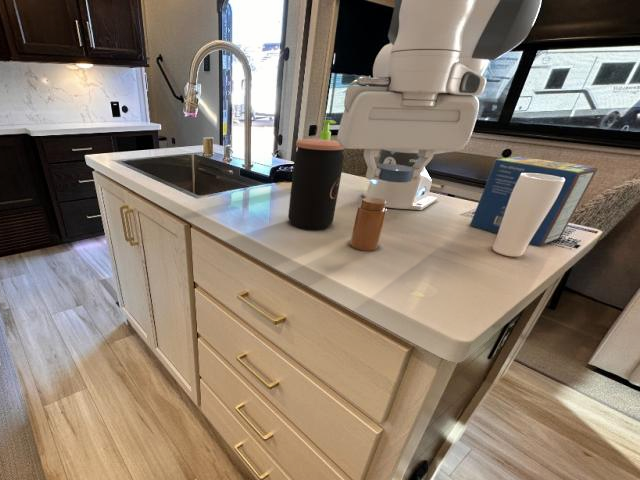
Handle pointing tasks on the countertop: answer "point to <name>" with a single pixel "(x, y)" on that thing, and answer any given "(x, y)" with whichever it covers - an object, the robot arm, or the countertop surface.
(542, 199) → the drinking glass
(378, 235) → the jam jar
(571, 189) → the protein box
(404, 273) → the countertop surface
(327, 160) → the coffee jar
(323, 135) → the soap dispenser
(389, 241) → the countertop surface
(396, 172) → the jam lid
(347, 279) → the countertop surface
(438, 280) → the countertop surface
